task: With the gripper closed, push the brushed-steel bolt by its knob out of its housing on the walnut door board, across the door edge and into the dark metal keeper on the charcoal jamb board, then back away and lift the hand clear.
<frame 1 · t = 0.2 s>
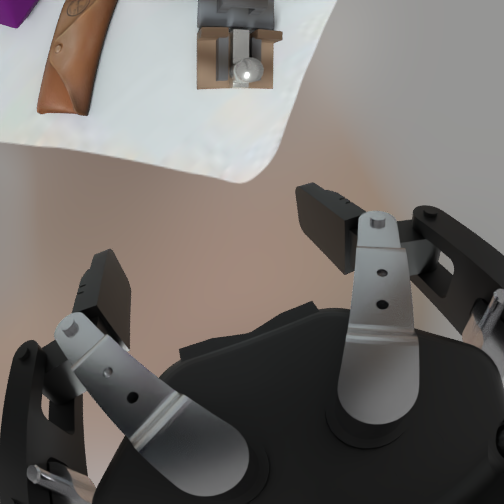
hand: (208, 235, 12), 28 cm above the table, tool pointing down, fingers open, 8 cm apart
sunglasses case: (75, 52, 24), on the table
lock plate: (235, 28, 29), on the table
steel bolt: (243, 56, 28), point 4 cm above the table, slide at 0.0 cm
perfume bottle: (25, 5, 16), on the table
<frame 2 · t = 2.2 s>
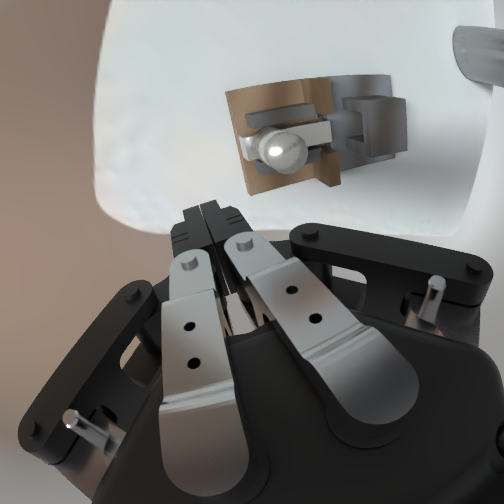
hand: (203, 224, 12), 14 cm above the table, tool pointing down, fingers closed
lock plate: (323, 124, 26), on the table
steel bolt: (296, 141, 22), point 4 cm above the table, slide at 0.0 cm
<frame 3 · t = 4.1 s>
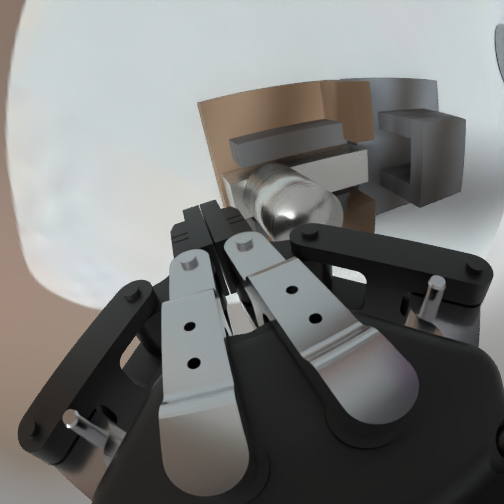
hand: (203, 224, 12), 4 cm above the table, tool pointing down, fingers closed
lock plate: (348, 151, 18), on the table
steel bolt: (318, 188, 13), point 4 cm above the table, slide at 0.2 cm, touching gripper
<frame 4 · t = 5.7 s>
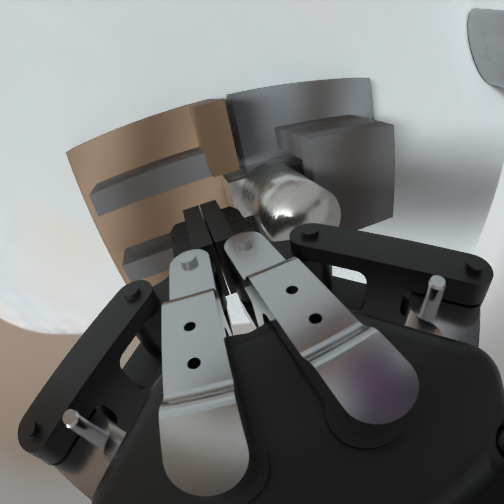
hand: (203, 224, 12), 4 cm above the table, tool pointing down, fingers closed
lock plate: (244, 176, 17), on the table
steel bolt: (316, 187, 13), point 4 cm above the table, slide at 7.5 cm, touching gripper, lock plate
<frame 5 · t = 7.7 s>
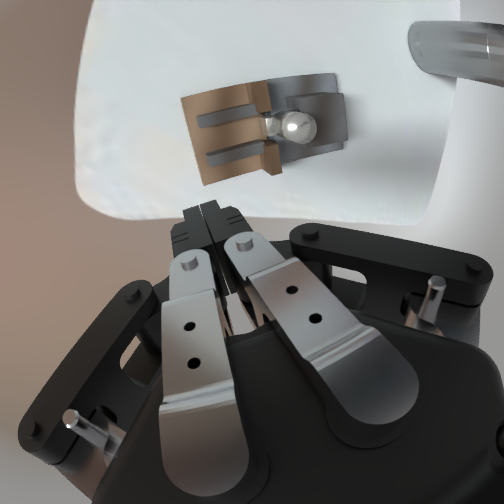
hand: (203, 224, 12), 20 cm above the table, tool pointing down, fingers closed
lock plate: (269, 121, 30), on the table
steel bolt: (306, 121, 27), point 4 cm above the table, slide at 7.5 cm, touching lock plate
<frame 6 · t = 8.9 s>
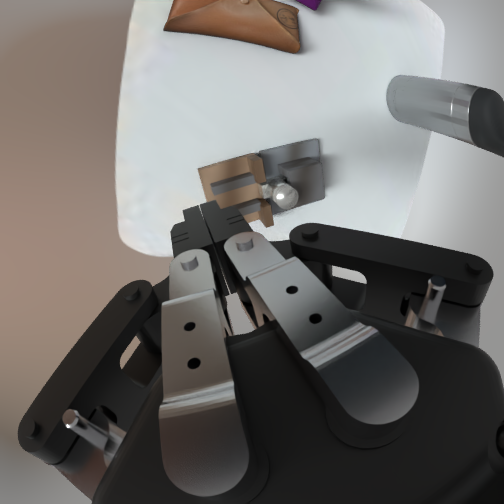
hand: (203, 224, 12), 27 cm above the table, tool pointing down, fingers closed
sunglasses case: (234, 16, 28), on the table
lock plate: (265, 182, 42), on the table
steel bolt: (292, 187, 39), point 4 cm above the table, slide at 7.5 cm, touching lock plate
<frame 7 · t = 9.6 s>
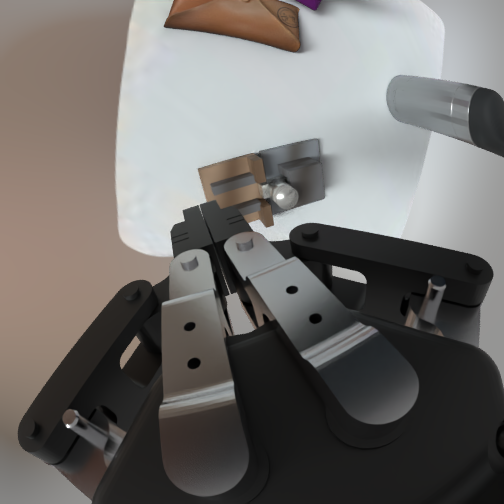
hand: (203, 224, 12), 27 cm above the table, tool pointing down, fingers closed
sunglasses case: (235, 14, 28), on the table
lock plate: (265, 182, 42), on the table
steel bolt: (292, 187, 39), point 4 cm above the table, slide at 7.5 cm, touching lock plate
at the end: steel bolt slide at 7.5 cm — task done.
